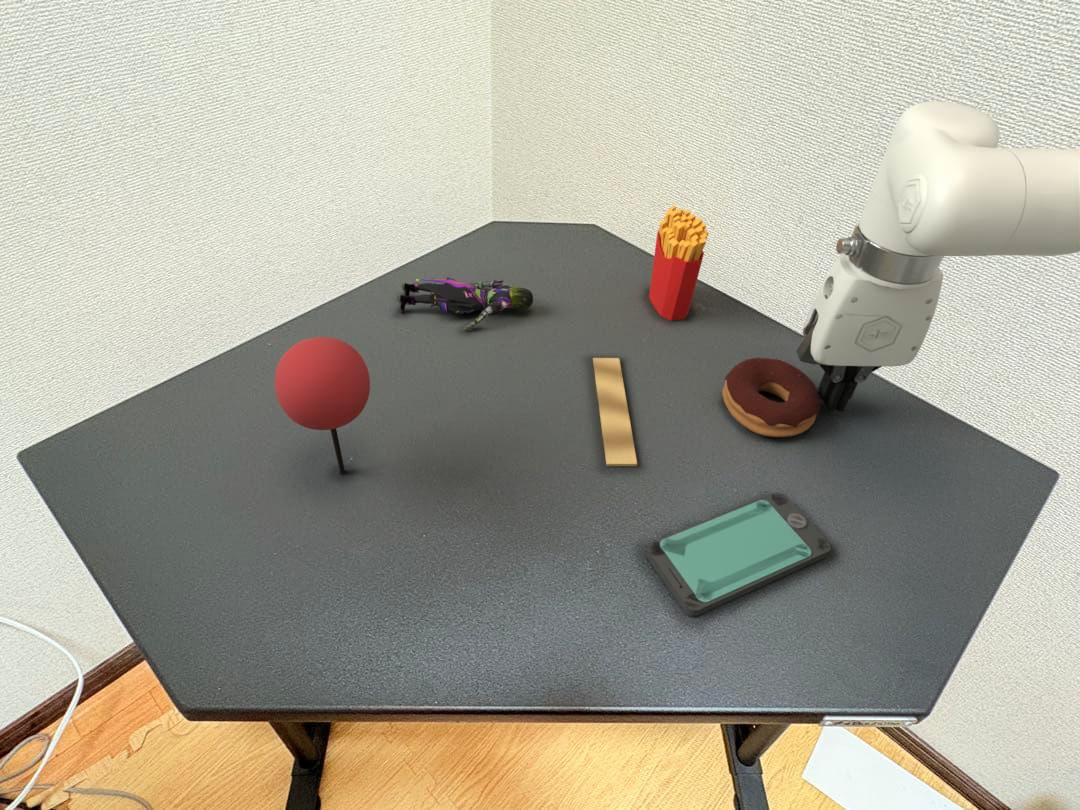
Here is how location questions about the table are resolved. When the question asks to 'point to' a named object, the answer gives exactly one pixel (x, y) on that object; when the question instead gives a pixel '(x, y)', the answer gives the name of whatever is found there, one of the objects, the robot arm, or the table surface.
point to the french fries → (677, 263)
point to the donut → (764, 412)
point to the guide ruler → (614, 413)
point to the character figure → (466, 297)
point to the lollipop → (323, 385)
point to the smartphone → (736, 553)
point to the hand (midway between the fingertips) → (830, 401)
